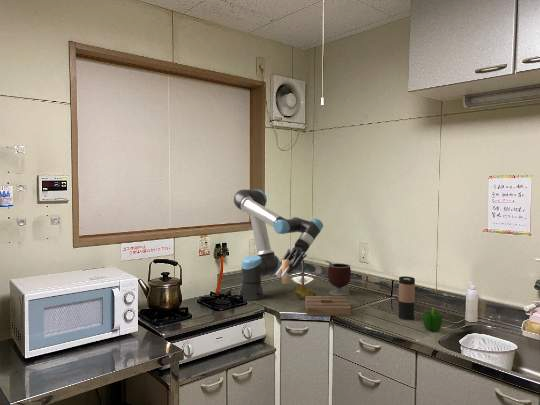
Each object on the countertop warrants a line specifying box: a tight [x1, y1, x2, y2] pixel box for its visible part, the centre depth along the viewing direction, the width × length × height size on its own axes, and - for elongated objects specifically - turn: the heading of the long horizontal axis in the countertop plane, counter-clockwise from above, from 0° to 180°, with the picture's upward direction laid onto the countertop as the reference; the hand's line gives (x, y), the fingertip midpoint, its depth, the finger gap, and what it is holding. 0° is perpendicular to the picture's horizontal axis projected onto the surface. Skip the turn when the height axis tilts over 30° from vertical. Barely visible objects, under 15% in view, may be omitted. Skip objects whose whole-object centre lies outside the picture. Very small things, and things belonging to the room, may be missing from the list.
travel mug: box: [397, 276, 416, 321], centre depth 207 cm, size 8×8×20 cm
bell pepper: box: [422, 306, 443, 332], centre depth 190 cm, size 8×8×10 cm
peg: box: [281, 259, 291, 285], centre depth 220 cm, size 4×4×12 cm
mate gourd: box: [325, 260, 352, 296], centre depth 255 cm, size 16×14×20 cm
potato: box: [293, 284, 317, 301], centre depth 241 cm, size 8×13×8 cm, turn 43°
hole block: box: [304, 295, 352, 316], centre depth 221 cm, size 22×22×4 cm
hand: (280, 276), depth 217 cm, fingers closed on peg, 4 cm apart
